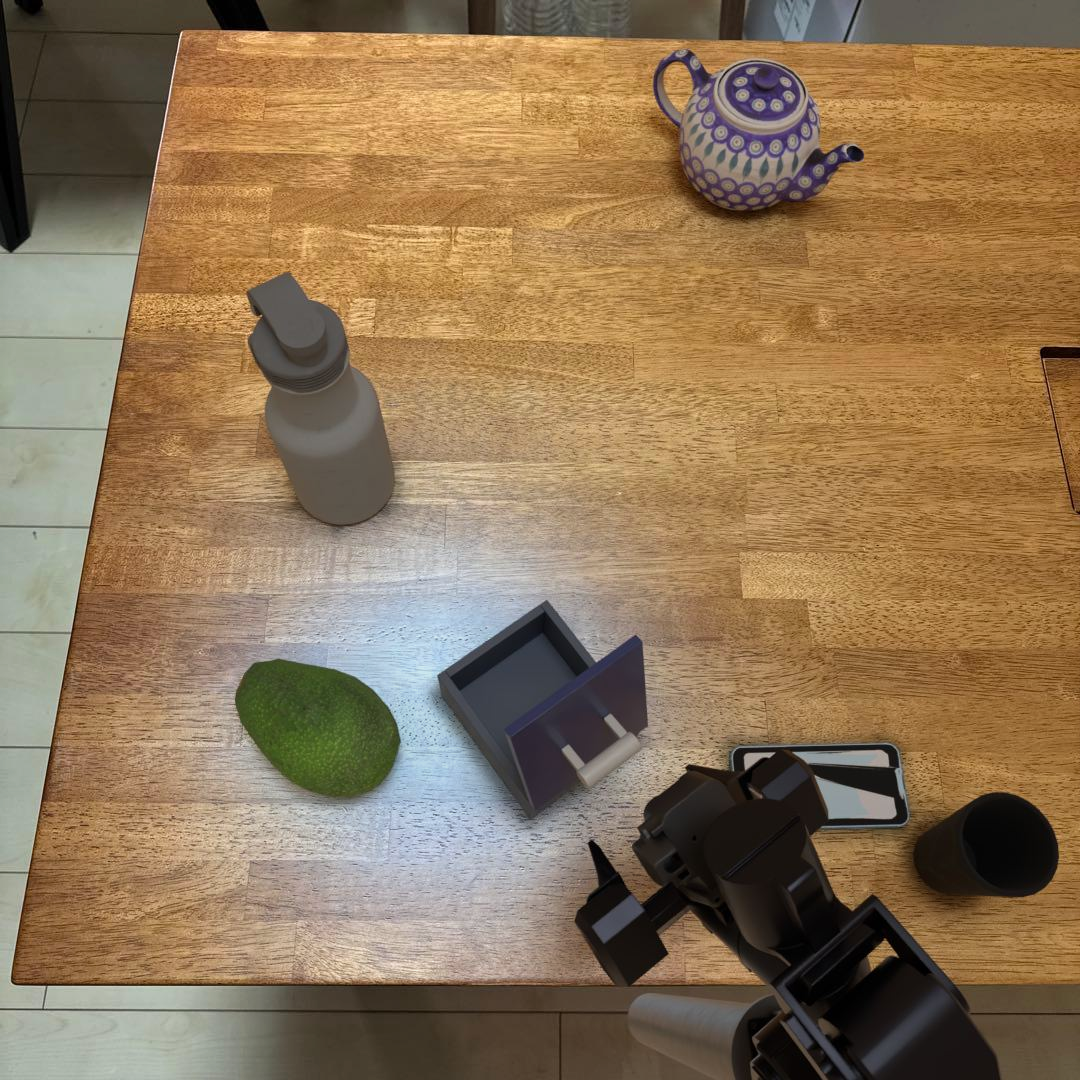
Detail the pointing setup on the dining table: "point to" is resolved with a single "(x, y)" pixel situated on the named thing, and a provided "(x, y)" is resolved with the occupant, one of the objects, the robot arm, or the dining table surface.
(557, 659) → the box
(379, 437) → the water bottle
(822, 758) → the smartphone
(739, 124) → the teapot
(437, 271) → the dining table surface
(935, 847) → the cup
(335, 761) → the fruit
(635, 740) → the lid
